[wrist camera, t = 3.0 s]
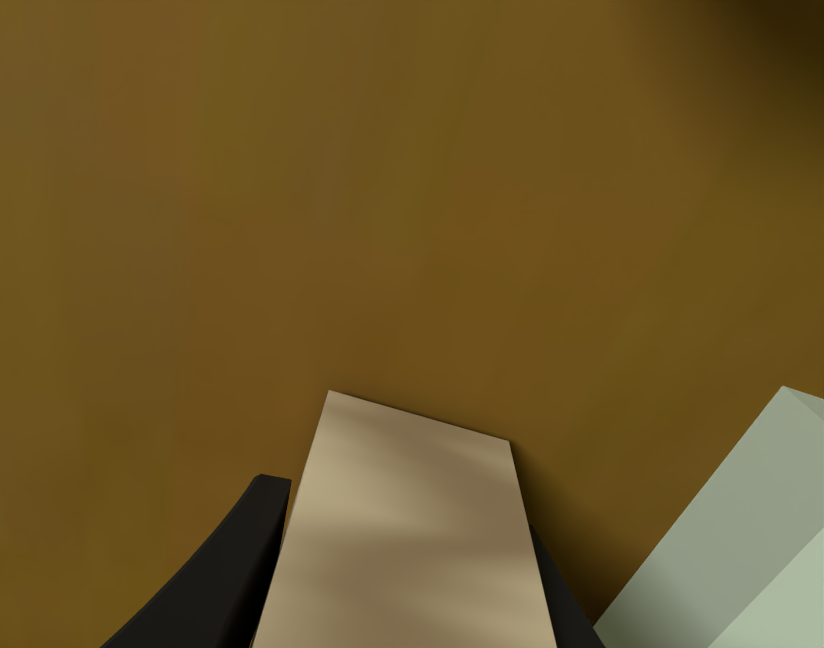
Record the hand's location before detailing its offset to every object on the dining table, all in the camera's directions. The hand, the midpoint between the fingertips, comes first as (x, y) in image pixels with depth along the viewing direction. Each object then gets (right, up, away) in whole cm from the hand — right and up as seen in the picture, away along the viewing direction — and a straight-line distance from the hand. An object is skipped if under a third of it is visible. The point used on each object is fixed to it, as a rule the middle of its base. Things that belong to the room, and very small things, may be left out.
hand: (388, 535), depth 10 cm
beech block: (0, +1, +1) cm, 1 cm away
